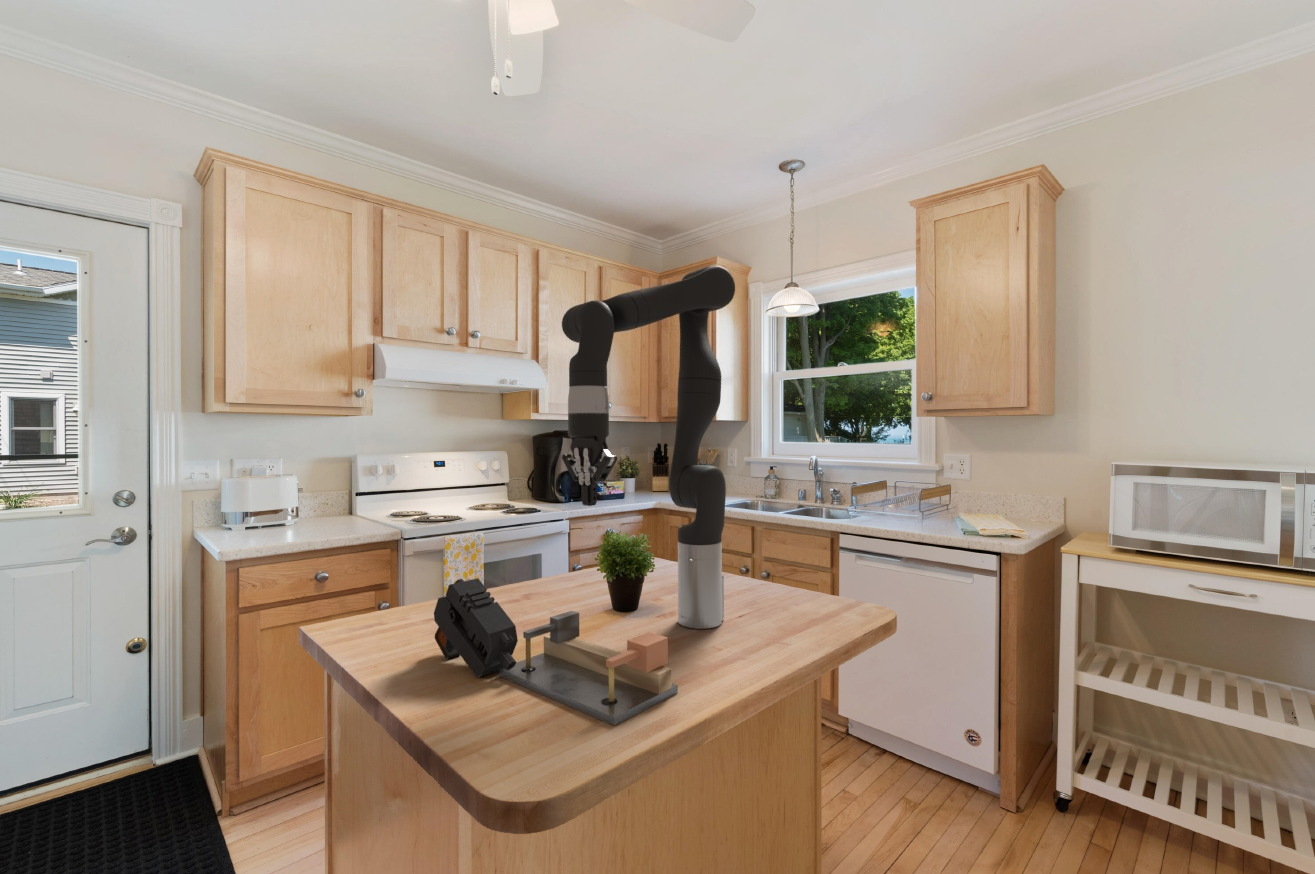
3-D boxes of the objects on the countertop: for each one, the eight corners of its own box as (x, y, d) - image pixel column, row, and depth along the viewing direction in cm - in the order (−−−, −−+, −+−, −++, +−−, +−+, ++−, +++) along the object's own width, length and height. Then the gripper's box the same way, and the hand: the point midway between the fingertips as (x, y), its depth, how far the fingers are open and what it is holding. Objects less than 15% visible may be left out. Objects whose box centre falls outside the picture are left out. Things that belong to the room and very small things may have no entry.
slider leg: (648, 674, 100) (648, 632, 99) (668, 681, 97) (667, 637, 97) (599, 697, 91) (599, 651, 91) (619, 705, 89) (618, 657, 89)
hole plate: (563, 652, 114) (563, 645, 114) (677, 692, 96) (677, 684, 96) (498, 675, 103) (498, 668, 103) (614, 725, 86) (614, 716, 86)
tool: (452, 630, 118) (474, 568, 113) (506, 705, 107) (534, 639, 102) (422, 639, 113) (444, 574, 108) (476, 718, 103) (503, 650, 98)
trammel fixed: (561, 646, 114) (560, 607, 113) (675, 685, 96) (675, 639, 96) (511, 664, 105) (510, 622, 105) (626, 710, 88) (626, 660, 88)
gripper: (628, 411, 113) (629, 506, 113) (579, 412, 122) (580, 500, 122) (598, 410, 107) (599, 510, 107) (549, 412, 116) (550, 504, 116)
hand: (589, 505), depth 115 cm, fingers closed
